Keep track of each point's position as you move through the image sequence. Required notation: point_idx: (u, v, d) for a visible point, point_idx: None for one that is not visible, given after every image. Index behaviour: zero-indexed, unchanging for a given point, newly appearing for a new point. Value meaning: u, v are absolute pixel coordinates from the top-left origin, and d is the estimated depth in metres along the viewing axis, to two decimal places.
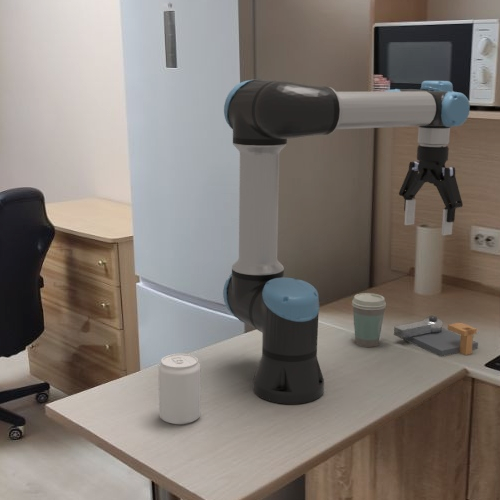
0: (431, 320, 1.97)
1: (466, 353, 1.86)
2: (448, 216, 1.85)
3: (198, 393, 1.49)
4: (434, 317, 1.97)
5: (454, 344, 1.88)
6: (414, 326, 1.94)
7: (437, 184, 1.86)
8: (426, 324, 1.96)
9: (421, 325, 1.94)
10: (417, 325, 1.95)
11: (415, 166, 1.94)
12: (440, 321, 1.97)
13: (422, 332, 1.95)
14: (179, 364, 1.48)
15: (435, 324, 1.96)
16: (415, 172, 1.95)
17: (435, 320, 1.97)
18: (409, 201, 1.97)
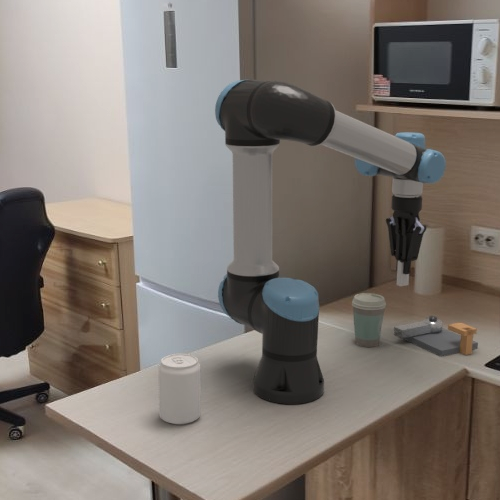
0: (431, 320, 1.97)
1: (466, 353, 1.86)
2: (404, 268, 1.96)
3: (198, 393, 1.49)
4: (434, 317, 1.97)
5: (454, 344, 1.88)
6: (414, 326, 1.94)
7: (404, 236, 1.93)
8: (426, 324, 1.96)
9: (421, 325, 1.94)
10: (417, 325, 1.95)
11: (392, 220, 1.98)
12: (440, 321, 1.97)
13: (422, 332, 1.95)
14: (179, 364, 1.48)
15: (435, 324, 1.96)
16: (395, 226, 1.98)
17: (435, 320, 1.97)
18: None
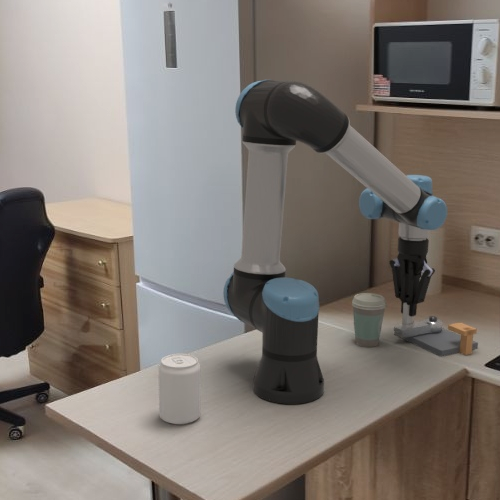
0: (431, 320, 1.97)
1: (466, 353, 1.86)
2: (410, 311, 1.95)
3: (198, 393, 1.49)
4: (434, 317, 1.97)
5: (454, 344, 1.88)
6: (414, 326, 1.94)
7: (412, 278, 1.92)
8: (426, 324, 1.96)
9: (421, 325, 1.94)
10: (417, 325, 1.95)
11: (396, 262, 1.96)
12: (440, 321, 1.97)
13: (422, 332, 1.95)
14: (179, 364, 1.48)
15: (435, 324, 1.96)
16: (399, 268, 1.97)
17: (435, 320, 1.97)
18: (407, 304, 1.95)
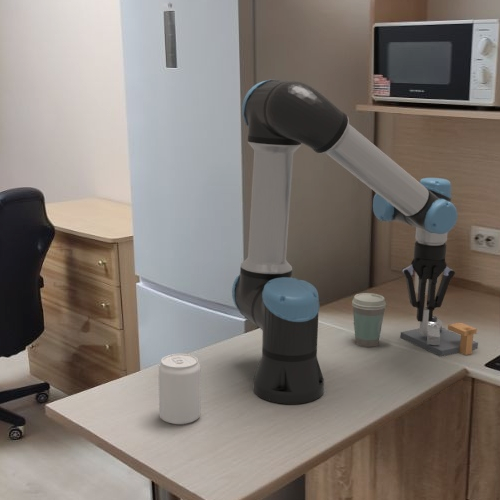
0: (434, 320, 1.97)
1: (466, 353, 1.86)
2: (429, 316, 1.91)
3: (198, 393, 1.49)
4: (435, 317, 1.97)
5: (454, 344, 1.88)
6: (436, 330, 1.91)
7: (434, 283, 1.88)
8: (437, 325, 1.95)
9: (437, 328, 1.93)
10: (434, 328, 1.92)
11: (409, 271, 1.88)
12: (438, 319, 1.99)
13: None
14: (179, 364, 1.48)
15: (441, 323, 1.96)
16: None
17: (436, 319, 1.97)
18: None
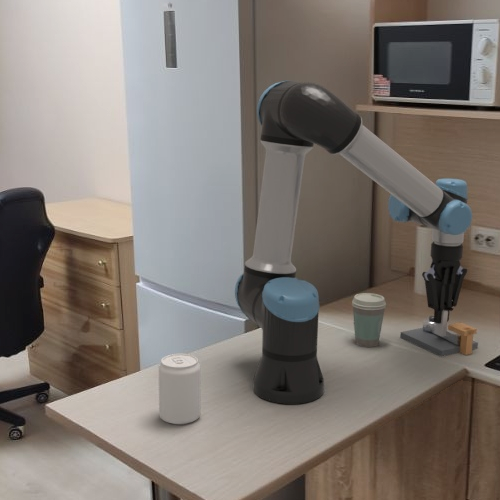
0: None
1: (466, 353, 1.86)
2: None
3: (198, 393, 1.49)
4: None
5: (454, 344, 1.88)
6: None
7: (452, 283, 1.88)
8: None
9: None
10: (447, 327, 1.93)
11: (431, 274, 1.86)
12: None
13: None
14: (179, 364, 1.48)
15: None
16: None
17: None
18: None
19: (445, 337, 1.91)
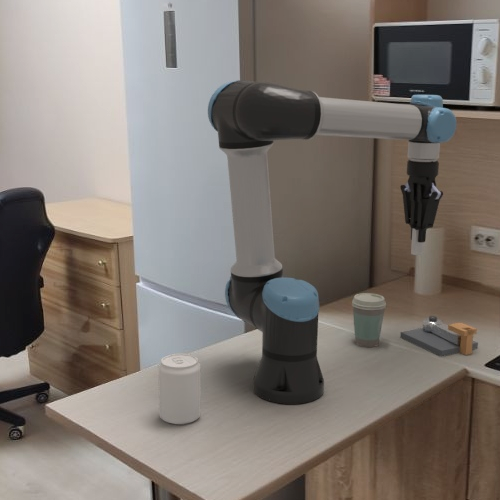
0: (436, 320, 1.97)
1: (466, 353, 1.86)
2: (419, 236, 1.89)
3: (198, 393, 1.49)
4: (435, 316, 1.98)
5: (454, 344, 1.88)
6: None
7: (420, 202, 1.86)
8: (443, 324, 1.96)
9: None
10: (447, 327, 1.93)
11: (406, 187, 1.91)
12: None
13: None
14: (179, 364, 1.48)
15: (441, 321, 1.98)
16: (410, 193, 1.92)
17: None
18: None
19: (445, 337, 1.91)
